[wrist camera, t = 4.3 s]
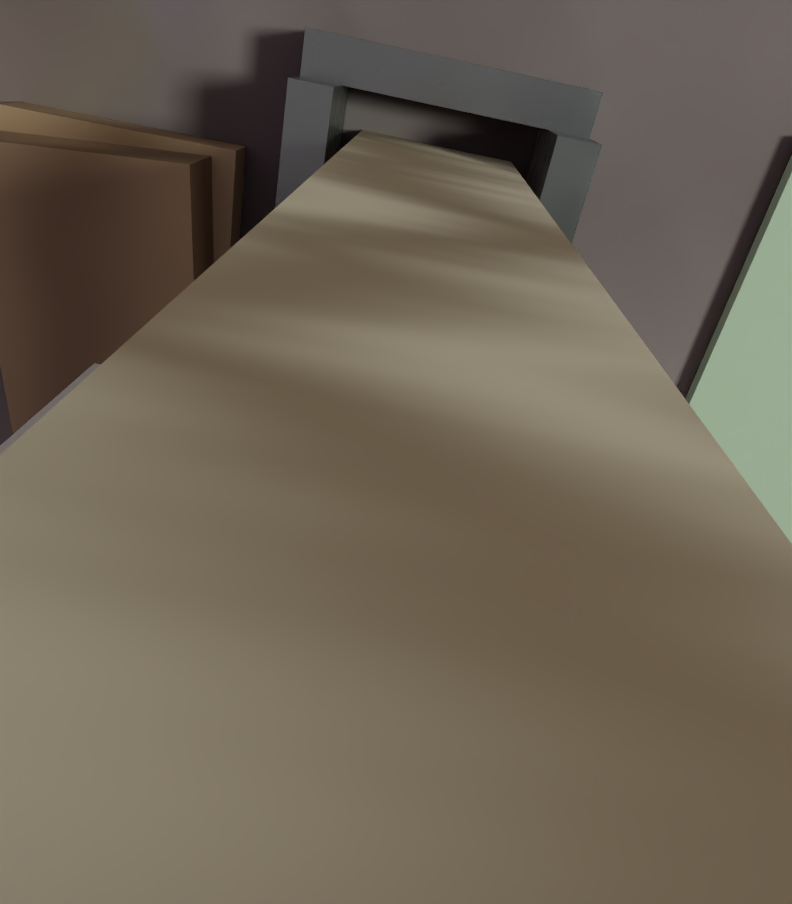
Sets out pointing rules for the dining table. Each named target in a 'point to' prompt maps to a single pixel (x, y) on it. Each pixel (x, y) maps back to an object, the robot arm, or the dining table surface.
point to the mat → (756, 365)
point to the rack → (446, 85)
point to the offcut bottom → (90, 128)
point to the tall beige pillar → (390, 584)
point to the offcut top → (90, 253)
